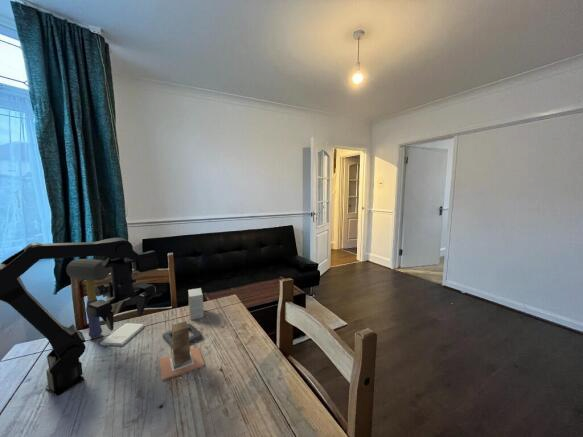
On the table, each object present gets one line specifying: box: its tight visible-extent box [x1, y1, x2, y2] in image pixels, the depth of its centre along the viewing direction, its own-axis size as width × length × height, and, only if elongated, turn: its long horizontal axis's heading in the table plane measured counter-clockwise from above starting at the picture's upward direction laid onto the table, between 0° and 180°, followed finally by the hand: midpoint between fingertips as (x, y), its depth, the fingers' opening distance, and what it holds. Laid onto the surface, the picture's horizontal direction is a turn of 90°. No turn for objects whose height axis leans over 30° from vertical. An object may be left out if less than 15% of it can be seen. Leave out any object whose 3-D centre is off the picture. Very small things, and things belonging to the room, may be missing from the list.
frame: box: [162, 322, 203, 350], centre depth 93 cm, size 10×10×2 cm
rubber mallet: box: [65, 258, 111, 339], centre depth 91 cm, size 12×8×30 cm, turn 80°
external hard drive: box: [100, 322, 145, 347], centre depth 95 cm, size 2×8×12 cm
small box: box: [187, 287, 205, 320], centre depth 110 cm, size 8×6×10 cm
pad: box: [159, 346, 206, 382], centre depth 80 cm, size 12×10×1 cm
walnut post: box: [171, 320, 192, 369], centre depth 79 cm, size 5×5×12 cm
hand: (126, 322), depth 81 cm, fingers open, 9 cm apart
